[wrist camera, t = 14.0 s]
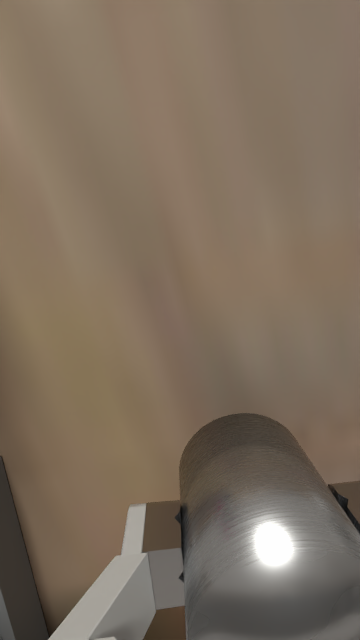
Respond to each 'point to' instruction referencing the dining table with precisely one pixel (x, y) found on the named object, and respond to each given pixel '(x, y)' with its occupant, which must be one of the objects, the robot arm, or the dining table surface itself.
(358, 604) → the cylinder
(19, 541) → the scale
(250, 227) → the dining table surface
